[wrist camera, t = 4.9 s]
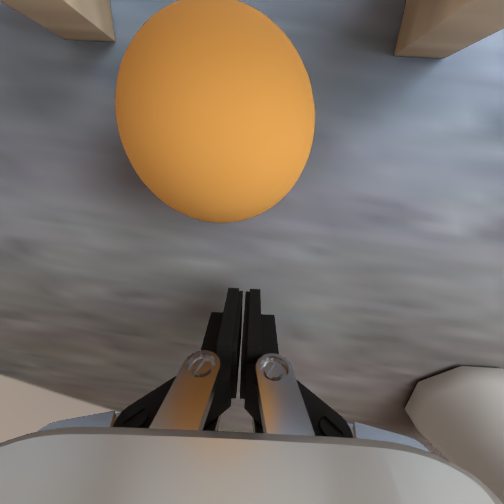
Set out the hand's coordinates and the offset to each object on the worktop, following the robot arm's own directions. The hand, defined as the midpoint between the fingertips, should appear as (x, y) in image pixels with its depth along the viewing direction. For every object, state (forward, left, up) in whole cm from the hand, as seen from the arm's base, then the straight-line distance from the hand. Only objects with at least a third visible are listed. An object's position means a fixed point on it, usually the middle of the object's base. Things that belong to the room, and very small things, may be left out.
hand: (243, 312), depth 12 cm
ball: (+1, -8, +2) cm, 9 cm away
